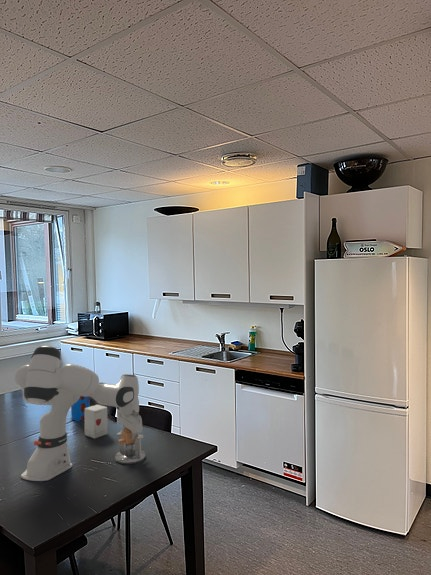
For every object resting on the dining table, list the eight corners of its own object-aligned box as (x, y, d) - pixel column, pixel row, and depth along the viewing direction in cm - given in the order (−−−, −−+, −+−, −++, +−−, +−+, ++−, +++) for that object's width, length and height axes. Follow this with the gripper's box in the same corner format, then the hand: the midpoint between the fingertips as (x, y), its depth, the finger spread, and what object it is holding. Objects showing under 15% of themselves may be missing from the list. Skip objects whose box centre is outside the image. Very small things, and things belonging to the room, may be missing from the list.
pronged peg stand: (137, 465, 194) (137, 441, 193) (109, 462, 197) (109, 438, 197) (149, 453, 207) (149, 430, 207) (123, 450, 211) (122, 428, 210)
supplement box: (94, 439, 226) (94, 411, 226) (84, 435, 232) (83, 408, 231) (108, 434, 233) (107, 406, 233) (97, 430, 239) (97, 404, 239)
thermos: (70, 416, 263) (70, 376, 262) (88, 414, 267) (88, 374, 267) (72, 422, 253) (72, 380, 252) (91, 419, 258) (90, 378, 257)
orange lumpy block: (143, 440, 203) (143, 428, 203) (121, 445, 196) (121, 433, 196) (138, 436, 207) (137, 425, 207) (116, 441, 201) (116, 430, 201)
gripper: (145, 412, 195) (146, 442, 195) (126, 402, 212) (127, 429, 212) (133, 415, 191) (133, 445, 192) (114, 404, 208) (115, 432, 208)
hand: (129, 437), depth 202 cm, fingers closed on orange lumpy block, 6 cm apart
